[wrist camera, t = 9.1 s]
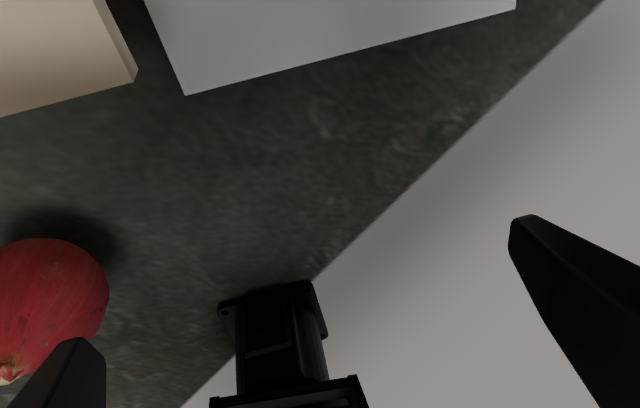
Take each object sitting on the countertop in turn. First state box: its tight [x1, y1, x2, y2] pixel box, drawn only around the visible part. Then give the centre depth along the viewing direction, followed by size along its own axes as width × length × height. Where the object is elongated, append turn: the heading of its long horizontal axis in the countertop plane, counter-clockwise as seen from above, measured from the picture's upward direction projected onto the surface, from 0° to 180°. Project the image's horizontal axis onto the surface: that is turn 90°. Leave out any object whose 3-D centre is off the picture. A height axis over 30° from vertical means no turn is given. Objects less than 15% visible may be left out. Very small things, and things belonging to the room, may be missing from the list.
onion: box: [0, 238, 109, 386], centre depth 20 cm, size 6×6×8 cm
